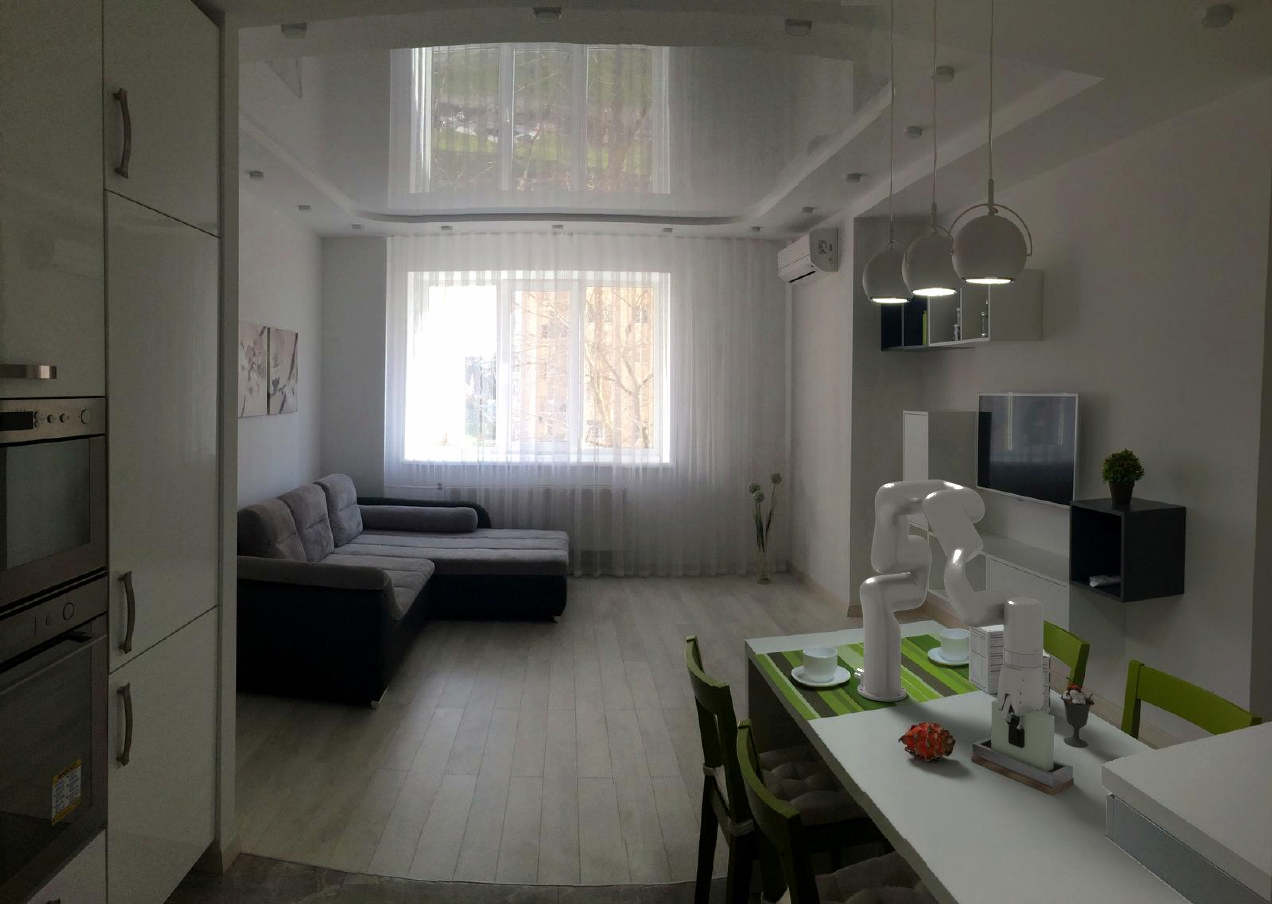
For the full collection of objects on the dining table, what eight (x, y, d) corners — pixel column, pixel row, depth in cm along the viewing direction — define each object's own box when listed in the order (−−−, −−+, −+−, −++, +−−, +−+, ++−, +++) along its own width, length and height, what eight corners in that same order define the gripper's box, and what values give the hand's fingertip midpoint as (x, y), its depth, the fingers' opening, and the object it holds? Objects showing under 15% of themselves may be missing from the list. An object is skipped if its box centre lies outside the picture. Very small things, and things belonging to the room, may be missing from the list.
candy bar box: (1016, 703, 205) (1017, 640, 204) (1037, 704, 204) (1038, 641, 203) (1028, 721, 194) (1029, 655, 193) (1050, 722, 193) (1052, 656, 192)
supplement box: (1020, 692, 213) (1021, 629, 211) (988, 694, 211) (988, 631, 210) (998, 679, 222) (999, 619, 221) (967, 681, 221) (968, 621, 219)
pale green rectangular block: (991, 751, 173) (991, 701, 172) (999, 747, 174) (1000, 698, 174) (1045, 772, 163) (1046, 719, 162) (1053, 768, 164) (1054, 716, 164)
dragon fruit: (960, 769, 174) (902, 771, 177) (954, 734, 180) (898, 736, 184) (958, 748, 169) (898, 750, 172) (951, 712, 175) (894, 715, 178)
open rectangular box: (970, 760, 174) (971, 744, 174) (993, 751, 179) (993, 735, 178) (1051, 794, 159) (1052, 776, 159) (1073, 783, 163) (1074, 766, 163)
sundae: (1052, 737, 185) (1054, 673, 184) (1080, 735, 186) (1082, 672, 184) (1070, 750, 178) (1072, 684, 177) (1099, 748, 179) (1101, 682, 178)
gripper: (1028, 645, 175) (1027, 727, 176) (982, 660, 166) (981, 746, 167) (1062, 654, 168) (1060, 740, 170) (1016, 670, 159) (1015, 760, 161)
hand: (1021, 742), depth 168 cm, fingers closed on pale green rectangular block, 3 cm apart
